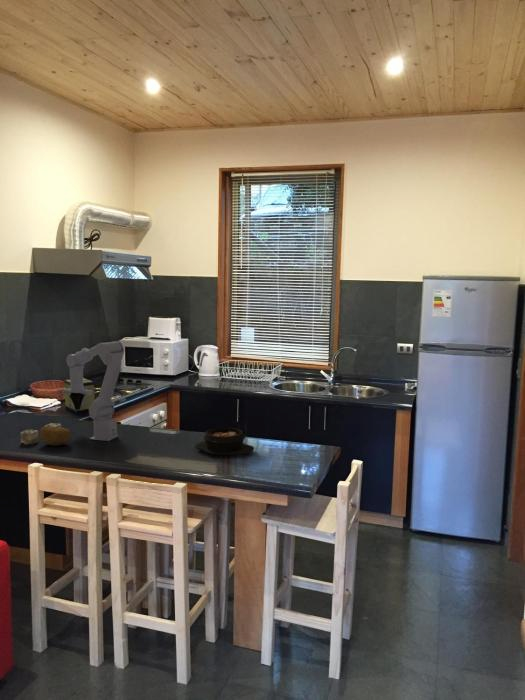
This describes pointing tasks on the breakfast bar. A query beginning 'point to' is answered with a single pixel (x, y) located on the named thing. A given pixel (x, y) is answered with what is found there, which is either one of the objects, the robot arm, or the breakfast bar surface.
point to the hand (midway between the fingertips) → (77, 409)
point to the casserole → (224, 442)
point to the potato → (55, 435)
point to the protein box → (86, 400)
